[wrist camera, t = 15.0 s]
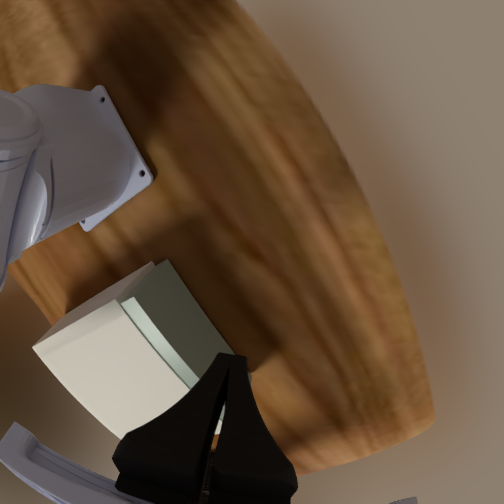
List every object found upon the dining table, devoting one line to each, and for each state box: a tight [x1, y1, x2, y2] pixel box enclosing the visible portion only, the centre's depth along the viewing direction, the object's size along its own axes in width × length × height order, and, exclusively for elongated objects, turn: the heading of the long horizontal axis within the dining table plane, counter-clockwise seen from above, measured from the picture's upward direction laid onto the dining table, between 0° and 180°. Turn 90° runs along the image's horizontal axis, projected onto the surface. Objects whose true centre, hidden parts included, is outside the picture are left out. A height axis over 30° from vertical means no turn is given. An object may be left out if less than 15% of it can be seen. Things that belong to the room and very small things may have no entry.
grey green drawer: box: [121, 259, 252, 420], centre depth 22 cm, size 13×13×6 cm
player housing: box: [32, 261, 223, 439], centre depth 22 cm, size 14×14×6 cm
